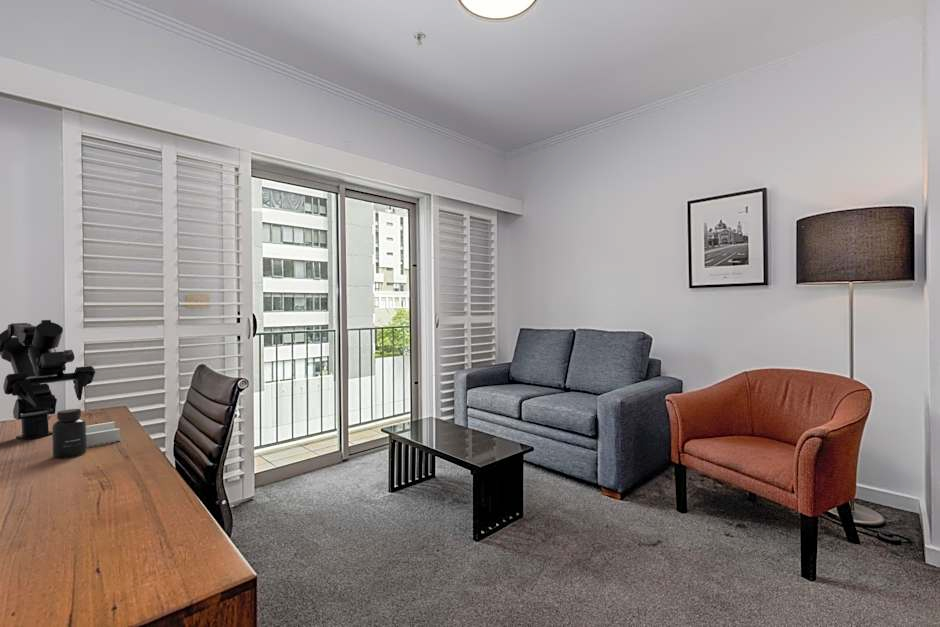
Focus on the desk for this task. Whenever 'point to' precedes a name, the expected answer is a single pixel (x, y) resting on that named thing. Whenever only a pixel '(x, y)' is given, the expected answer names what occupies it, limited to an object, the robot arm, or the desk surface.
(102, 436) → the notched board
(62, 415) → the supplement bottle
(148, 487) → the desk surface
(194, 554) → the desk surface
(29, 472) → the desk surface
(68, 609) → the desk surface
